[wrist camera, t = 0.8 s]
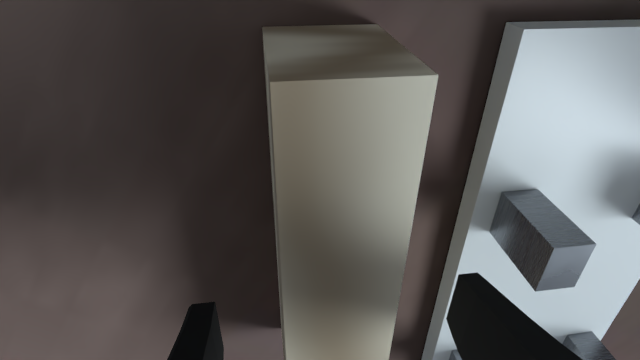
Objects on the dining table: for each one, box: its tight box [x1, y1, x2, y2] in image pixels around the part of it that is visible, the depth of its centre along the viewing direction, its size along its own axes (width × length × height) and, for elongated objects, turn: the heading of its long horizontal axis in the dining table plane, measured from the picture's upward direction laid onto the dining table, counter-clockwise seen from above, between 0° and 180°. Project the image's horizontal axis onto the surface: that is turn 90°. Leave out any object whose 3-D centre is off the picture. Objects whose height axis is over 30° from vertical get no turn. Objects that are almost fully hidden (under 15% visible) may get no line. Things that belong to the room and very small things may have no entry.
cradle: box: [421, 19, 640, 360], centre depth 18 cm, size 10×24×4 cm, turn 179°
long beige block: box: [262, 24, 438, 360], centre depth 14 cm, size 4×14×5 cm, turn 0°
